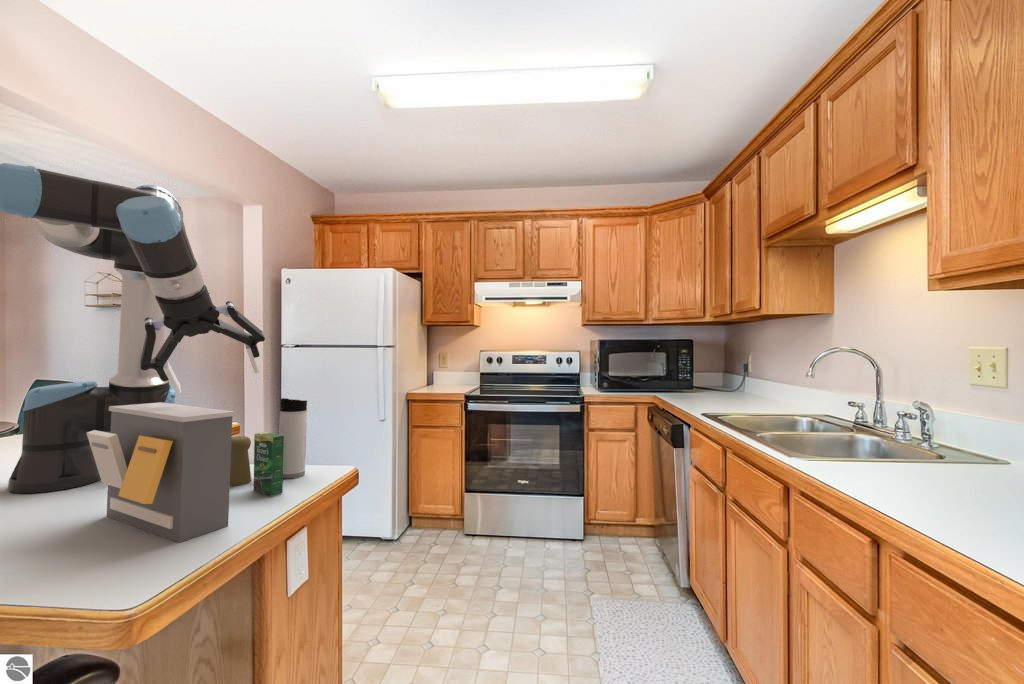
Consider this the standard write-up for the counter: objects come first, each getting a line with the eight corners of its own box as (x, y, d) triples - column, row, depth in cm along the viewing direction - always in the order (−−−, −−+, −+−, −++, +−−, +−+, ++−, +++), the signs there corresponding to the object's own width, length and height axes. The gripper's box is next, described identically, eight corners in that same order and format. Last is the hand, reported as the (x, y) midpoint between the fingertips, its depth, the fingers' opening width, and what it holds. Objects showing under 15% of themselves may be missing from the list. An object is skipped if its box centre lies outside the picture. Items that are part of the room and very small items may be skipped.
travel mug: (270, 477, 110) (273, 397, 110) (291, 471, 116) (294, 395, 117) (289, 480, 108) (292, 399, 108) (310, 473, 114) (312, 397, 114)
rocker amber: (142, 504, 69) (163, 440, 72) (116, 495, 73) (137, 435, 75) (152, 503, 71) (172, 441, 73) (126, 495, 74) (147, 436, 77)
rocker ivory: (122, 490, 77) (106, 437, 75) (100, 483, 80) (84, 433, 78) (132, 486, 78) (117, 434, 76) (110, 479, 82) (94, 429, 79)
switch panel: (177, 544, 72) (182, 417, 72) (103, 516, 82) (108, 406, 83) (230, 525, 80) (235, 411, 80) (156, 503, 90) (161, 402, 91)
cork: (215, 484, 103) (217, 437, 104) (238, 477, 109) (240, 433, 109) (235, 487, 102) (237, 439, 102) (257, 480, 107) (259, 435, 108)
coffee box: (251, 490, 100) (253, 432, 100) (264, 487, 102) (266, 430, 103) (270, 497, 95) (272, 437, 96) (283, 493, 98) (285, 435, 98)
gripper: (85, 318, 68) (143, 412, 81) (263, 284, 80) (288, 371, 93) (88, 294, 73) (142, 387, 85) (256, 266, 85) (280, 351, 98)
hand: (218, 379), depth 89 cm, fingers open, 13 cm apart
